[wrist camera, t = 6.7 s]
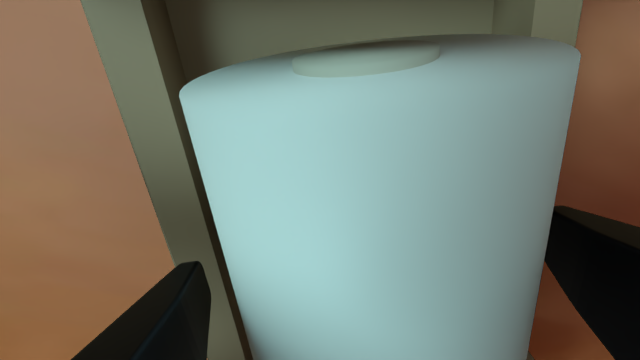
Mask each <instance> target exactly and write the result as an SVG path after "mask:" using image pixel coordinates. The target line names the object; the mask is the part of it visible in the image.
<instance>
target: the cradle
mask: <svg viewBox="0 0 640 360" xmlns="http://www.w3.org/2000/svg"><path fill="white" fill-rule="evenodd" d="M80 1H81V3H82V6H83V9H84V12H85V15H86V17H87V20H88V23H89V26H90V29H91V32H92V34H93V37H94V40H95V43H96V46H97V48H98V51H99V54H100V57H101V60H102V62H103V65H104V68H105V71H106V74H107V77H108V79H109V82H110V85H111V88H112V91H113V93H114V96H115V99H116V102H117V105H118V108H119V110H120V113H121V116H122V119H123V122H124V124H125V127H126V130H127V133H128V136H129V139H130V141H131V144H132V147H133V150H134V153H135V155H136V158H137V161H138V164H139V167H140V169H141V172H142V175H143V178H144V181H145V184H146V186H147V189H148V192H149V195H150V198H151V200H152V203H153V206H154V209H155V212H156V215H157V217H158V220H159V223H160V226H161V229H162V231H163V234H164V237H165V240H166V243H167V246H168V248H169V251H170V254H171V257H172V260H173V262H174V265H175V267H176V266H177V265H179V264H180V263H184V262H191V261H199V262H201V264H202V266H203V268H204V272H205V275H206V278H207V281H208V284H209V288H210V291H211V311H210V323H209V335H208V348H207V358H208V360H253V357H252V353H251V349H250V346H249V342H248V339H247V335H246V332H245V328H244V325H243V321H242V318H241V314H240V310H239V307H238V303H237V300H236V296H235V293H234V289H233V286H232V282H231V279H230V275H229V272H228V268H227V264H226V261H225V257H224V254H223V250H222V247H221V243H220V240H219V236H218V233H217V229H216V225H215V222H214V218H213V215H212V211H211V208H210V204H209V201H208V197H207V194H206V190H205V187H204V183H203V179H202V176H201V172H200V169H199V165H198V162H197V158H196V155H195V151H194V148H193V144H192V140H191V137H190V133H189V130H188V126H187V123H186V119H185V116H184V112H183V109H182V105H181V102H180V98H179V93H180V90H181V89H182V88H183V87H184V86H185V85H186V84H188V83H189V82H190V81H192V80H194V79H196V78H198V77H200V76H202V75H205V74H207V73H209V72H212V71H215V70H218V69H221V68H224V67H227V66H230V65H234V64H237V63H241V62H245V61H248V60H253V59H257V58H261V57H265V56H270V55H274V54H279V53H285V52H290V51H295V50H301V49H306V48H313V47H319V46H326V45H333V44H340V43H348V42H356V41H364V40H374V39H384V38H395V37H408V36H424V35H446V34H501V35H519V36H529V37H538V38H545V39H551V40H555V41H559V42H563V43H566V44H568V45H571V46H573V47H574V48H575V44H576V38H577V32H578V27H579V21H580V15H581V9H582V4H583V0H80ZM526 360H534V358H533V357H532V355H531V354H530V352H529V351H528V353H527V359H526Z"/></svg>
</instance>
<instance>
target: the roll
mask: <svg viewBox="0 0 640 360" xmlns="http://www.w3.org/2000/svg"><path fill="white" fill-rule="evenodd" d="M580 58H581V55H580V52H579V50H577V49H576V48H574V47H573V46H571V45H568V44H566V43H563V42H559V41H555V40H551V39H545V38H538V37H529V36H519V35H501V34H446V35H424V36H408V37H395V38H384V39H374V40H364V41H356V42H348V43H340V44H333V45H326V46H319V47H313V48H306V49H301V50H295V51H290V52H285V53H279V54H274V55H270V56H265V57H261V58H257V59H253V60H248V61H245V62H241V63H237V64H234V65H230V66H227V67H224V68H221V69H218V70H215V71H212V72H209V73H207V74H205V75H202V76H200V77H198V78H196V79H194V80H192V81H190V82H189V83H188V84H186V85H185V86H184V87H183V88H182V89H181V90H180V93H179V98H180V102H181V105H182V109H183V112H184V116H185V119H186V123H187V126H188V130H189V133H190V137H191V140H192V144H193V148H194V151H195V155H196V158H197V162H198V165H199V169H200V172H201V176H202V179H203V183H204V187H205V190H206V194H207V197H208V201H209V204H210V208H211V211H212V215H213V218H214V222H215V225H216V229H217V233H218V236H219V240H220V243H221V247H222V250H223V254H224V257H225V261H226V264H227V268H228V272H229V275H230V279H231V282H232V286H233V289H234V293H235V296H236V300H237V303H238V307H239V310H240V314H241V318H242V321H243V325H244V328H245V332H246V335H247V339H248V342H249V346H250V349H251V353H252V357H253V360H526V359H527V353H528V347H529V342H530V336H531V331H532V325H533V320H534V314H535V308H536V303H537V297H538V292H539V286H540V281H541V275H542V270H543V264H544V258H545V253H546V247H547V242H548V236H549V231H550V225H551V220H552V214H553V208H554V203H555V197H556V192H557V186H558V181H559V175H560V170H561V164H562V158H563V153H564V147H565V142H566V136H567V131H568V125H569V120H570V114H571V108H572V103H573V97H574V92H575V86H576V81H577V75H578V69H579V64H580Z"/></svg>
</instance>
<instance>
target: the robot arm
mask: <svg viewBox="0 0 640 360" xmlns="http://www.w3.org/2000/svg"><path fill="white" fill-rule="evenodd" d="M544 261H545V262H546V264H547V266H548V267H549V269H550V270H551V272H552V273H553V275H554V276H555V278H556V280H557V281H558V283H559V284H560V286H561V287H562V289H563V291H564V292H565V294H566V295H567V297H568V298H569V300H570V301H571V303H572V304H573V306H574V307H575V309H576V310H577V311H578V313H579V314H580V315H581V317H582V318H583V319H584V321H585V322H586V323H587V324H588V326H589V327H590V328H591V329H592V331H593V332H594V333H595V335H596V336H597V337H598V338H599V340H600V341H601V342H602V343H603V345H604V346H605V347H606V349H607V350H608V351H609V352H610V354H611V355H612V356H613V357H614V359H615V360H640V227H637V226H633V225H630V224H626V223H623V222H619V221H616V220H612V219H608V218H605V217H601V216H598V215H594V214H591V213H587V212H584V211H580V210H577V209H573V208H570V207H566V206H554V208H553V214H552V220H551V225H550V231H549V236H548V242H547V247H546V253H545V258H544ZM210 311H211V291H210V288H209V284H208V281H207V278H206V275H205V272H204V268H203V266H202V264H201V262H199V261H191V262H184V263H180V264H179V265H177V266H176V267H175V268H174V269H173V270H172V271H171V272H169V273H168V274H167V275H166V276H165V277H164V278H163V279H162V280H160V281H159V282H158V283H157V284H156V285H155V286H154V287H152V288H151V289H150V290H149V291H148V292H147V293H146V294H145V295H143V296H142V297H141V298H140V299H139V300H138V301H137V302H135V303H134V304H133V305H132V306H131V307H130V308H129V309H128V310H126V311H125V312H124V313H123V314H122V315H121V316H120V317H119V318H117V319H116V320H115V321H114V322H113V323H112V324H111V325H109V326H108V327H107V328H106V329H105V330H104V331H103V332H102V333H100V334H99V335H98V336H97V337H96V338H95V339H94V340H92V341H91V342H90V343H89V344H88V345H87V346H86V347H85V348H83V349H82V350H81V351H80V352H79V353H78V354H77V355H75V356H74V357H73V358H72V359H71V360H206V359H207V348H208V335H209V323H210Z"/></svg>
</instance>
